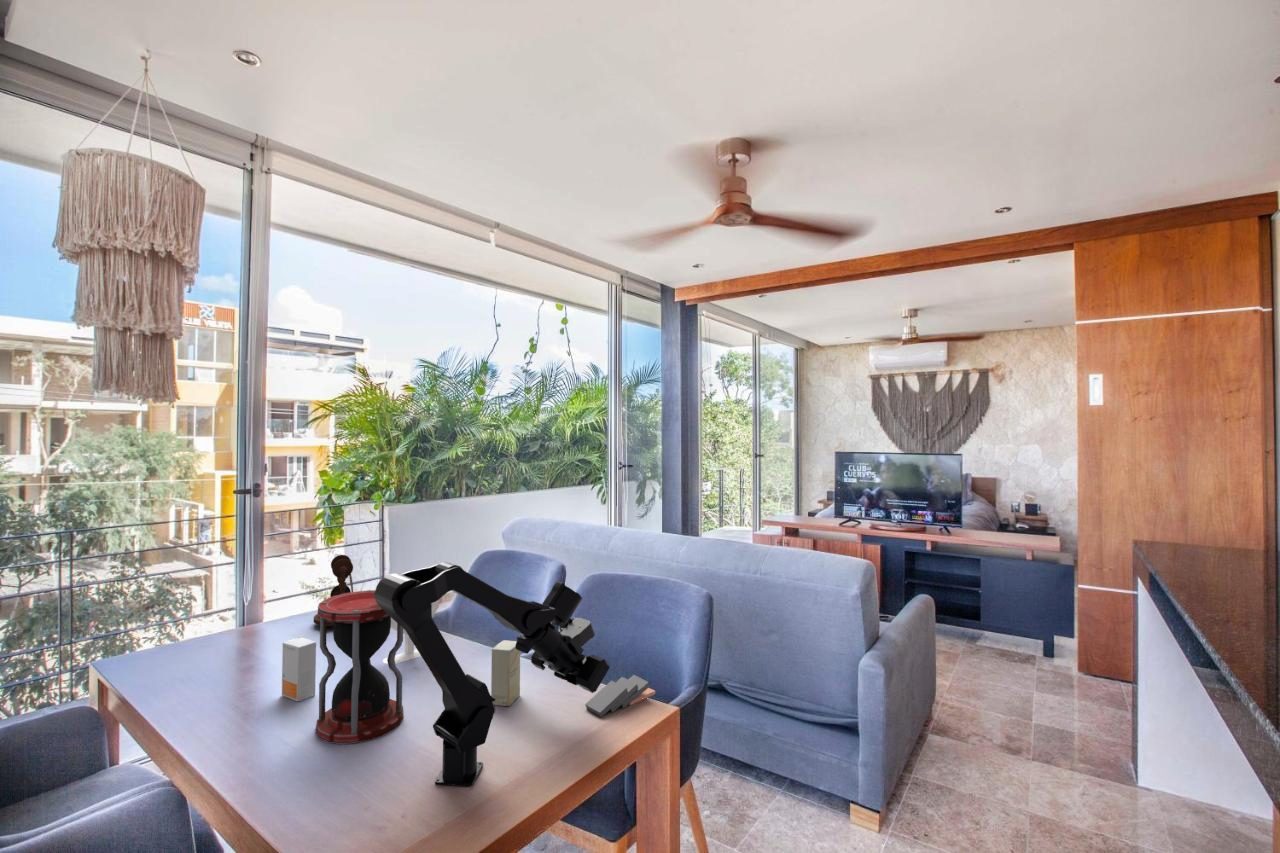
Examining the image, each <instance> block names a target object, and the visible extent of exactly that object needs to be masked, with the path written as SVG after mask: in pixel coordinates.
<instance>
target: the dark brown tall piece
mask: <svg viewBox="0 0 1280 853" xmlns="http://www.w3.org/2000/svg"><path fill="white" fill-rule="evenodd" d="M330 568H331V570H332V574H333V575H334V577H336V579H337V580H336V581H337V583H338V585H336V586H334V587H333V588H332V589H331V590H330V594H329V595H330V597H333V596H336V595H340V594H344V593H350V592H354V584H353V577H352V573H353V570H354V564H353V563H352V559H351V557H349V556H348V555H346V554H338V555H337V556H335V557H333V558H332V559H331V561H330ZM346 579H349V583H350V587H349V586H348V585H347V582H346ZM313 623H314V624H315V625H318V626H320V616H319V615H318V613H316V614H315V615H314V616H313ZM333 623H334V621H333V620H327V627H333Z"/></svg>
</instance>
